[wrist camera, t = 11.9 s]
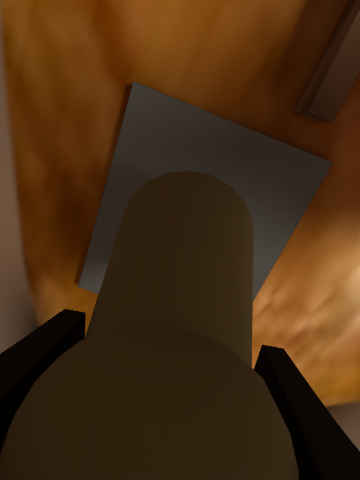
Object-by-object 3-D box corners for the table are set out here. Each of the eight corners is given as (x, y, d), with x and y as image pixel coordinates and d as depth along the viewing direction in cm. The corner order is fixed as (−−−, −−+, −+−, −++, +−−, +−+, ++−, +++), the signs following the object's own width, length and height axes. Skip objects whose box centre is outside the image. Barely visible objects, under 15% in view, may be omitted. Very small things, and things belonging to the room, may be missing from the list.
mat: (229, 336, 21) (229, 341, 21) (81, 282, 21) (78, 286, 20) (329, 161, 16) (332, 162, 16) (135, 82, 15) (133, 81, 15)
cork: (173, 139, 12) (0, 407, 2) (283, 228, 13) (483, 642, 3) (98, 242, 14) (-137, 578, 5) (196, 308, 16) (172, 675, 6)
